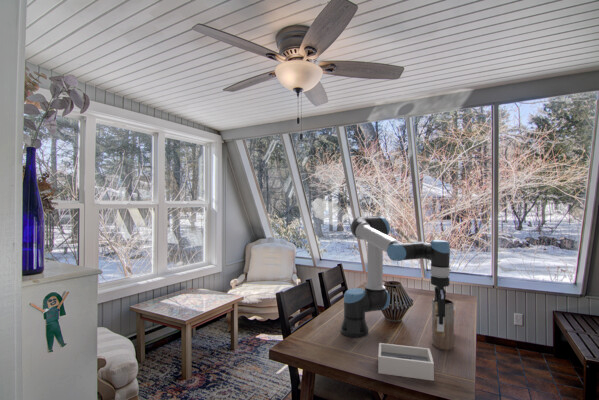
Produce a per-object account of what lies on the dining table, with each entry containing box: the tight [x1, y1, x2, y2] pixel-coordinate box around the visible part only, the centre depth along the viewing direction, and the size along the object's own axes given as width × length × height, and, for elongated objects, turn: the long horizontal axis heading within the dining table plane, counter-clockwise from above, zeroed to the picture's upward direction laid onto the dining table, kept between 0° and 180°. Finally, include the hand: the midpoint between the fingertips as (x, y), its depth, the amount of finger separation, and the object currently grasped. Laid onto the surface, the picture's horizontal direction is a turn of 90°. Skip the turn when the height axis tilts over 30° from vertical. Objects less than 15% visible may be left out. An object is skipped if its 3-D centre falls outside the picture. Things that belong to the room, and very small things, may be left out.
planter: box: [431, 297, 455, 351], centre depth 163 cm, size 10×10×23 cm
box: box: [377, 342, 435, 382], centre depth 140 cm, size 22×14×7 cm, turn 75°
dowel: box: [435, 302, 445, 337], centre depth 141 cm, size 4×4×14 cm
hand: (439, 329), depth 141 cm, fingers closed on dowel, 4 cm apart
